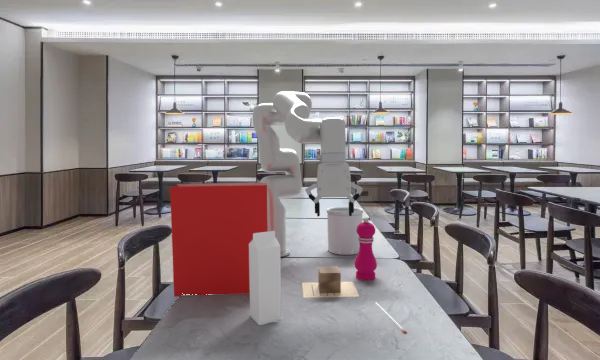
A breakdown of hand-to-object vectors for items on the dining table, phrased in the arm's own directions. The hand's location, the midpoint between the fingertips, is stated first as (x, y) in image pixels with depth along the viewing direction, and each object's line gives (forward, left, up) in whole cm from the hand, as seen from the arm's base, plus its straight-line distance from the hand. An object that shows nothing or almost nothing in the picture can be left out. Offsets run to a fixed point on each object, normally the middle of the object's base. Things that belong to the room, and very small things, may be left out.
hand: (334, 215), depth 114 cm
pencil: (+11, -21, -23) cm, 33 cm away
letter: (-2, -3, -22) cm, 22 cm away
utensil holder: (+9, +40, -22) cm, 47 cm away
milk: (-20, -21, -22) cm, 37 cm away
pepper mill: (+11, +7, -22) cm, 26 cm away
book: (-34, -1, -22) cm, 41 cm away
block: (-2, -3, -22) cm, 22 cm away
